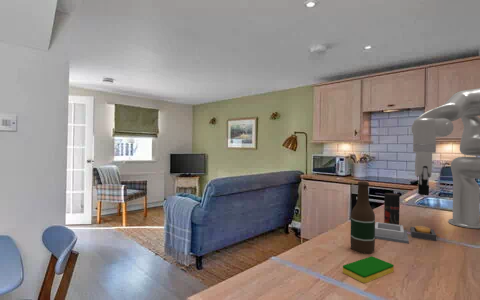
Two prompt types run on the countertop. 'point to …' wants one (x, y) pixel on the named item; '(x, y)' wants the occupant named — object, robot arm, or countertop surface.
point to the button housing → (423, 234)
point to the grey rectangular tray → (391, 232)
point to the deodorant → (391, 208)
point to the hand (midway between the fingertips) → (423, 193)
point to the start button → (422, 229)
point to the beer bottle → (363, 222)
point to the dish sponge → (368, 269)
